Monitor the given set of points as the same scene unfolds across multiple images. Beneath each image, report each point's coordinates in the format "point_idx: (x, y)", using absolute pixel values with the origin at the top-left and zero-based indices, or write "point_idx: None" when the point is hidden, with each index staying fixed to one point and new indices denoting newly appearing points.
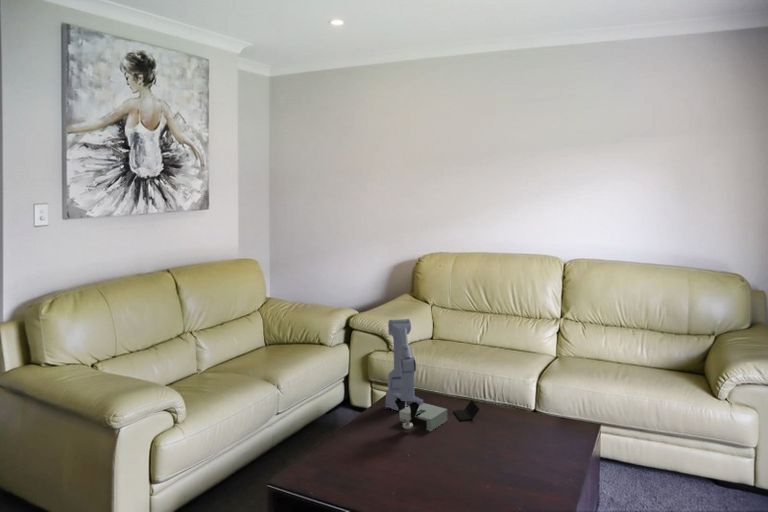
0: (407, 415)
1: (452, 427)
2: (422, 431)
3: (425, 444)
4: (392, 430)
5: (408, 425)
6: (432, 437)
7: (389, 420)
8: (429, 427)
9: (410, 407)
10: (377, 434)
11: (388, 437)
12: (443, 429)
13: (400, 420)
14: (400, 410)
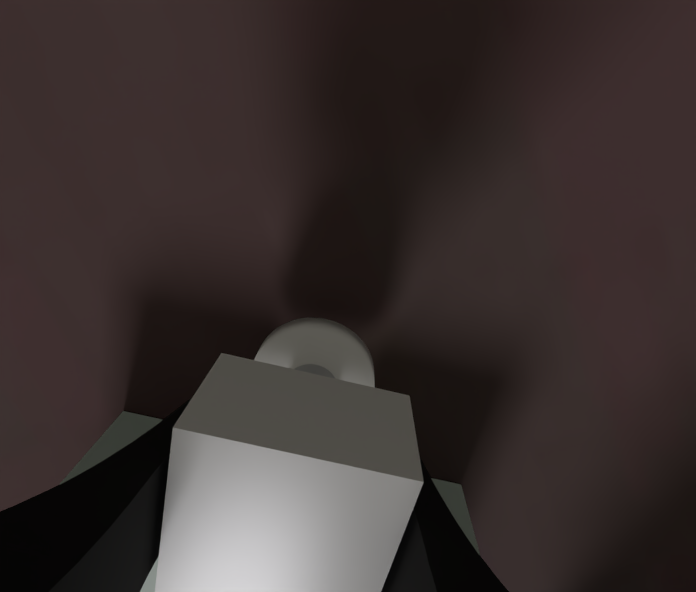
0: (232, 406)
1: None
2: (192, 393)
3: (4, 120)
4: (480, 314)
5: (290, 363)
6: (41, 309)
7: (573, 496)
8: (113, 438)
9: (39, 563)
10: (625, 153)
11: (469, 126)
12: (53, 483)
13: (460, 502)
14: (412, 507)
